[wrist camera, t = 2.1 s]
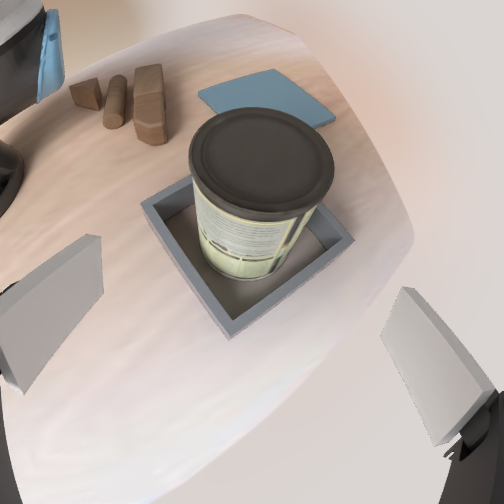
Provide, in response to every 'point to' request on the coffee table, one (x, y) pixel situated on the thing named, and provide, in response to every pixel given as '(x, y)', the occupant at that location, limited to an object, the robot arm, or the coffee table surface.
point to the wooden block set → (145, 102)
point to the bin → (156, 213)
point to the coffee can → (255, 187)
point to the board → (267, 97)
